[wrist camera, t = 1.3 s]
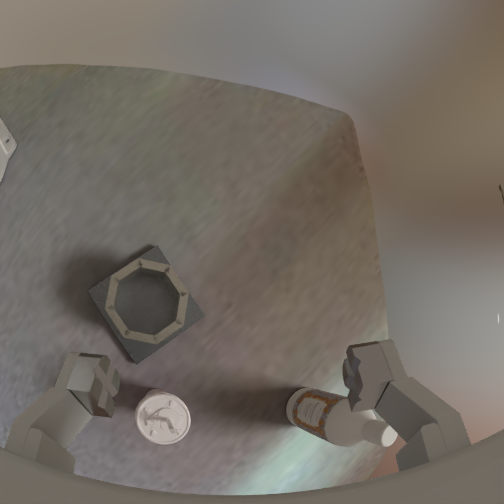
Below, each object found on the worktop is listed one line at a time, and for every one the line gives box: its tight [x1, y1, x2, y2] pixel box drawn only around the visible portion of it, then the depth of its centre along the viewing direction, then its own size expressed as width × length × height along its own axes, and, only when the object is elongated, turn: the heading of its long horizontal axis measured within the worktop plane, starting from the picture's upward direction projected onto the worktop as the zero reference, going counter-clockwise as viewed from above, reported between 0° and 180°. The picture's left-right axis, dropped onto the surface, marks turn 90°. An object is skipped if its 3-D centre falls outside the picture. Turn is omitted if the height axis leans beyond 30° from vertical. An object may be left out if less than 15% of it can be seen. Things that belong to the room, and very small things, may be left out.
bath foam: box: [286, 388, 398, 447], centre depth 37 cm, size 7×7×20 cm
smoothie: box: [135, 389, 191, 444], centre depth 32 cm, size 6×6×14 cm
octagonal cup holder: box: [88, 245, 205, 365], centre depth 38 cm, size 12×12×6 cm
